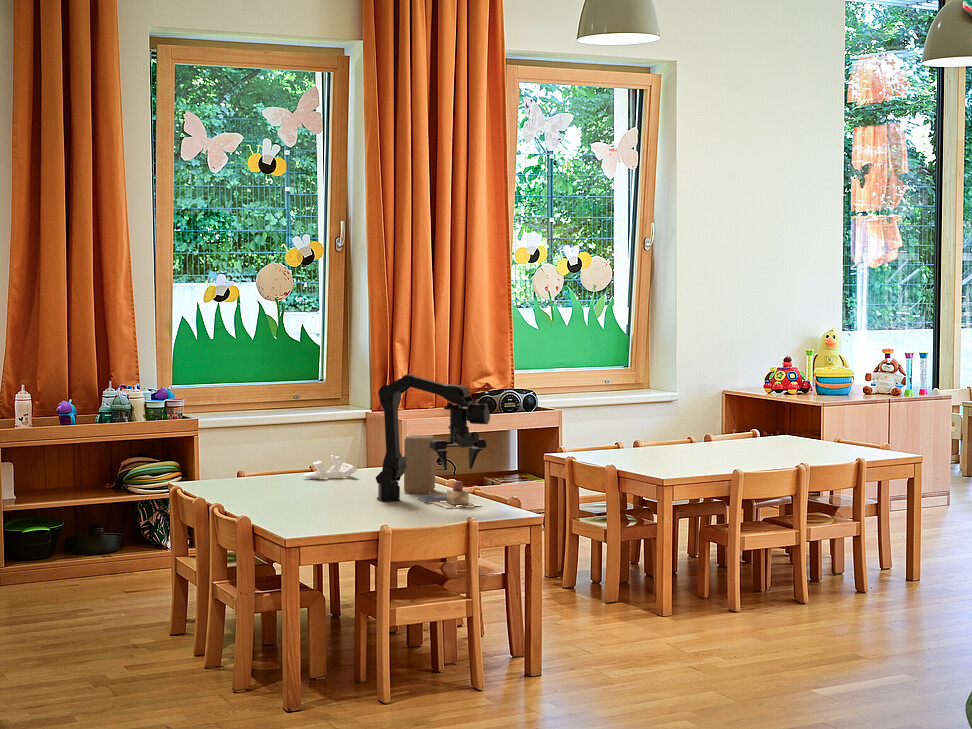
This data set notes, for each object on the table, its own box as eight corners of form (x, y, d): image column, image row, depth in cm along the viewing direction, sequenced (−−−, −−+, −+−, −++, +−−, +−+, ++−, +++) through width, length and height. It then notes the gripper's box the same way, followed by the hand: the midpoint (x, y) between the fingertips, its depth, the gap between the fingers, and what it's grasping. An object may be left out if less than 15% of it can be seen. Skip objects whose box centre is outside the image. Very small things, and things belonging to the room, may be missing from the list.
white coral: (298, 477, 443) (299, 455, 443) (347, 475, 452) (347, 453, 452) (307, 481, 433) (307, 458, 433) (357, 478, 442) (357, 456, 442)
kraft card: (446, 509, 374) (446, 507, 374) (433, 503, 384) (433, 502, 384) (482, 506, 380) (482, 505, 380) (468, 501, 390) (468, 500, 390)
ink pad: (425, 503, 385) (425, 499, 384) (417, 500, 391) (417, 496, 391) (452, 501, 389) (452, 497, 389) (444, 498, 395) (444, 494, 395)
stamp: (453, 505, 378) (453, 483, 378) (447, 503, 383) (447, 481, 383) (468, 504, 381) (468, 482, 380) (462, 502, 386) (462, 480, 385)
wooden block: (435, 489, 416) (435, 435, 415) (431, 494, 406) (431, 438, 405) (408, 489, 417) (408, 434, 416) (403, 493, 407) (403, 437, 406)
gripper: (441, 426, 370) (441, 474, 371) (493, 424, 378) (493, 471, 379) (429, 423, 380) (428, 469, 381) (480, 421, 388) (479, 467, 389)
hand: (458, 469), depth 382 cm, fingers open, 9 cm apart
